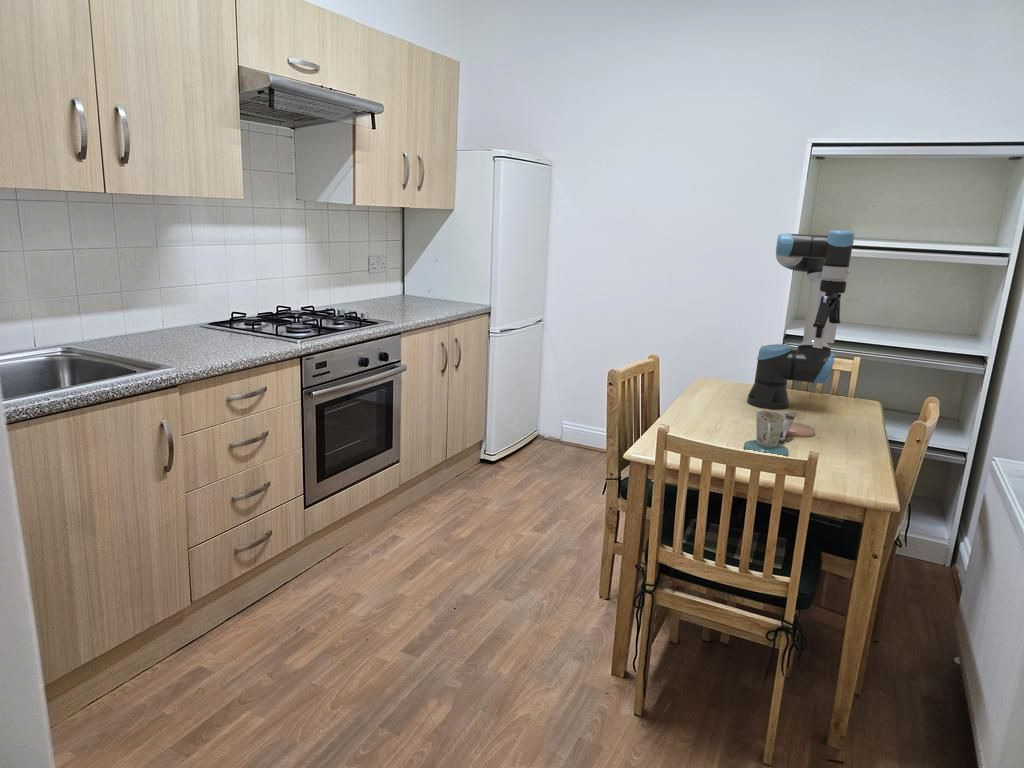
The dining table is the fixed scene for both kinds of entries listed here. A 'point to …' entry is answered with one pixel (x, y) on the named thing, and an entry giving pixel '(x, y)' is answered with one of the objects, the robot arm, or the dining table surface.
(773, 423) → the mug
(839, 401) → the dining table surface
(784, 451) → the dish front
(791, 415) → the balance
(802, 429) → the dish back
